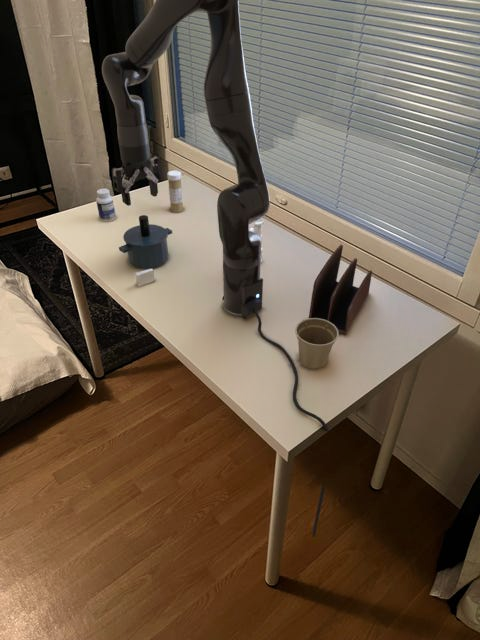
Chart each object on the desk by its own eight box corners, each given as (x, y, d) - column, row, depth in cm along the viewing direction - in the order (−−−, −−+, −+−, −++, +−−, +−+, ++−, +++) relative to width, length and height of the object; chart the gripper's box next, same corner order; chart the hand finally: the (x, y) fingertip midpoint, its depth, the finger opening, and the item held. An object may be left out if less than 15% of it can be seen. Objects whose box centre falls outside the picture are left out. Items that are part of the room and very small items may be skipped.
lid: (176, 238, 143) (175, 217, 139) (140, 254, 136) (137, 232, 132) (151, 223, 150) (148, 203, 146) (115, 237, 144) (111, 216, 139)
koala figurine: (256, 251, 151) (257, 215, 144) (271, 260, 147) (273, 223, 140) (234, 261, 147) (234, 224, 139) (250, 270, 143) (250, 233, 135)
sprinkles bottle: (178, 205, 175) (176, 168, 167) (186, 210, 173) (183, 172, 164) (167, 209, 173) (164, 172, 165) (175, 214, 170) (172, 176, 162)
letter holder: (307, 324, 124) (312, 276, 115) (333, 284, 137) (340, 239, 129) (345, 336, 120) (354, 288, 111) (369, 294, 134) (378, 248, 125)
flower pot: (329, 346, 117) (334, 317, 112) (337, 374, 110) (342, 344, 105) (290, 346, 117) (292, 318, 112) (295, 375, 110) (298, 345, 104)
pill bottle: (99, 215, 169) (93, 188, 163) (114, 213, 171) (110, 186, 164) (100, 222, 165) (95, 195, 159) (116, 220, 167) (112, 193, 160)
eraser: (154, 281, 138) (153, 270, 136) (138, 286, 136) (136, 275, 134) (152, 279, 139) (151, 268, 137) (136, 284, 137) (134, 273, 135)
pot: (183, 255, 149) (181, 233, 144) (135, 277, 140) (132, 254, 135) (160, 241, 156) (158, 220, 151) (113, 261, 146) (109, 239, 142)
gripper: (117, 151, 120) (126, 212, 130) (165, 137, 128) (170, 196, 138) (101, 143, 124) (111, 203, 134) (148, 130, 132) (154, 188, 142)
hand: (141, 200), depth 136 cm, fingers open, 8 cm apart
